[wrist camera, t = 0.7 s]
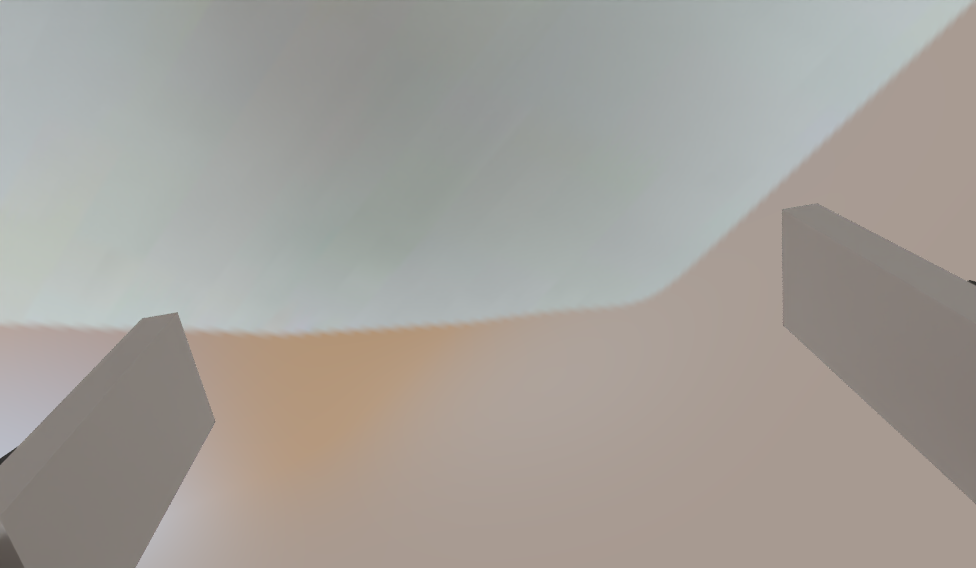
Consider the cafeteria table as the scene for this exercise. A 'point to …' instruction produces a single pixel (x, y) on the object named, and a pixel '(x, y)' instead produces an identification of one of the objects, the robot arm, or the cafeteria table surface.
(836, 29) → the cafeteria table surface
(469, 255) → the cafeteria table surface
